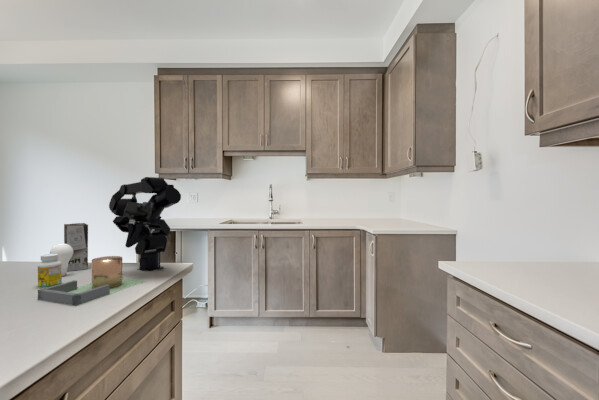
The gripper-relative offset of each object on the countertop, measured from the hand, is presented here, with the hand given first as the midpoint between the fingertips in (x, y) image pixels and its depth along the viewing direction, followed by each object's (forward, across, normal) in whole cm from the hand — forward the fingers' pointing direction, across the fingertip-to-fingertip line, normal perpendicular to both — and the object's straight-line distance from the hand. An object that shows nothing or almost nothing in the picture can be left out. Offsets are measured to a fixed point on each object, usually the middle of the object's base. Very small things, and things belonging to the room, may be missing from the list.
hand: (127, 246), depth 95 cm
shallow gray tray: (+18, -1, -4) cm, 19 cm away
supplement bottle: (+16, -16, 0) cm, 23 cm away
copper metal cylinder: (+12, 0, +3) cm, 12 cm away
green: (+15, 0, +1) cm, 15 cm away
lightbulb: (+10, -24, +7) cm, 27 cm away
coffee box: (+3, -31, +14) cm, 34 cm away
